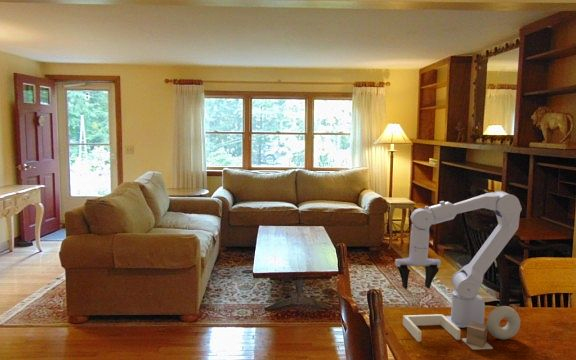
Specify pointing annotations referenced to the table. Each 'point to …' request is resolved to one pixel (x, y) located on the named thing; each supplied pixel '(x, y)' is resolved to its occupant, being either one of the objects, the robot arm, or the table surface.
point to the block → (476, 334)
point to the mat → (477, 346)
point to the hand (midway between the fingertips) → (416, 287)
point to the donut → (498, 315)
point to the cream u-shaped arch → (437, 319)
